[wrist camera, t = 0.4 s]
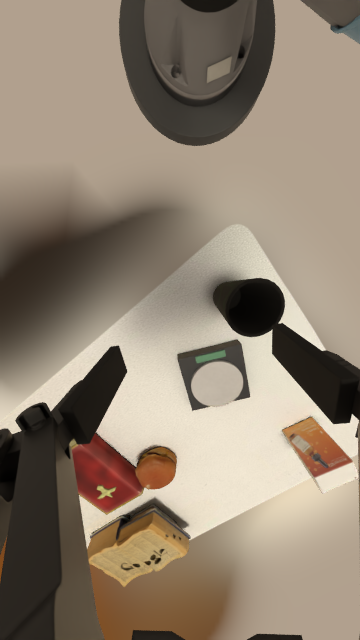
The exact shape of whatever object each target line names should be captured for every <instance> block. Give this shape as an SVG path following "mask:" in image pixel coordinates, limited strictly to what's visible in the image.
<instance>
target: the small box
mask: <svg viewBox="0 0 360 640" xmlns="http://www.w3.org/2000/svg"><path fill="white" fill-rule="evenodd" d="M282 431H283V433H284V435H285V436H286V438H287V440H288V442H289V444H290V445H291V447H292V448H293V450H294V451H295V453H296V454H297V456H298V457H299V459H300V460H301V462H302V463H303V465H304V466H305V468H306V470H307V471H308V473H309V474H310V476H311V477H312V478H313V480H314V482H315V483H316V485H317V486H318V488H319V489H320V491H321V492H322V493H326V492H327V491H329V490H331V489H334V488H336V487H339V486H341V485H344V484H346V483H349V482H351V481H354V480H357V479H359V474H358V472H357V470H356V467H355V465H354V463H353V461H352V460H351V459H350V458H349V456H348V455H347V454H346V453H345V452H344V451H343V450H342V449H341V448H340V447H339V446H338V445H337V443H336V442H335V441H334V440H333V439H332V438H331V437H330V436H329V435H328V434H327V433H326V432H325V431H324V429H323V428H322V427H321V426H320V425H319V424H318V423H317V422H316V421H315V420H314V419H313V418H312V417H310V418H308V419H306V420H304V421H302V422H300V423H298V424H295V425H293V426H291V427H288V428H285V429H283V430H282Z"/></svg>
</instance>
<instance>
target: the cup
mask: <svg viewBox="0 0 360 640" xmlns="http://www.w3.org/2000/svg"><path fill="white" fill-rule="evenodd" d="M213 300H214V303H215V305H216V306H217V308H218V309H219V311H220V312H221V314H222V315H223V317H224V318H225V320H226V321H227V322H228V324H229V325H230V327H231V328H232V329H233V330H234V331H235V332H237V333H238V334H240V335H243V336H247V337H257V336H260V335H264V334H266V333H267V332H269V331H271V330H272V329H273V324H278V323H279V321H280V320H281V317H282V315H283V313H284V308H285V299H284V296H283V293H282V291H281V289H280V288H279V287H278V286H277V285H276V284H275V283H274V282H272V281H270V280H268V279H263V278H255V279H246V280H239V281H231V282H225V283H222V284H220V285H219V286H218V287H217V288H216V289H215V291H214V294H213Z"/></svg>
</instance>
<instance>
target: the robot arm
mask: <svg viewBox="0 0 360 640" xmlns="http://www.w3.org/2000/svg"><path fill="white" fill-rule="evenodd" d="M301 1H302V2H303V3H305V4H306V5H307V6H308V7H310V8H311V9H312V10H313V11H314V12H316V13H317V14H318V15H319V16H320V17H322V18H323V19H324V20H325V21H327V22H328V23H329V24H331V30H332V31H333V32H334V33H344V34H345V35H347V36H349V37H350V38H352V39H353V40H355V41H356V42H358V43H359V44H360V0H301ZM256 6H257V0H145V7H144V25H145V34H146V43H147V50H148V55H149V59H150V63H151V66H152V68H153V71H154V73H155V75H156V77H157V79H158V81H159V82H160V84H161V85H162V87H163V88H164V89H165V90H166V91H167V93H168V94H170V95H171V96H172V97H173V98H174V99H176V100H177V101H179V102H181V103H183V104H186V105H189V106H196V107H200V106H207V105H210V104H213V103H215V102H217V101H219V100H220V99H222V98H223V97H224V96H225V95H226V94H227V93H228V92H229V91H230V90H231V89H232V88H233V87H234V85H235V84H236V82H237V81H238V79H239V77H240V75H241V73H242V71H243V68H244V65H245V62H246V59H247V57H248V54H249V51H250V47H251V44H252V39H253V33H254V25H255V16H256ZM272 354H273V355H274V356H275V358H276V359H277V360H278V361H279V362H280V363H281V365H282V366H283V367H284V368H285V369H286V370H287V371H288V373H289V374H290V375H291V376H292V377H293V378H294V379H295V381H296V382H297V383H298V384H299V385H300V386H301V387H302V389H303V390H304V391H305V392H306V393H307V394H308V396H309V397H310V398H311V399H312V400H313V401H314V402H315V404H316V405H317V406H318V407H319V408H320V409H321V410H322V412H323V413H324V414H325V415H326V416H327V417H328V418H329V420H330V421H331V422H332V423H333V424H340V423H350V420H351V415H352V414H353V415H354V416H355V417H356V418H357V419H358V420H359V424H358V428H357V432H356V436H355V437H357V438H358V456H359V522H360V369H358V368H357V367H355V366H354V365H352V364H351V363H349V362H348V361H345V359H343V358H342V357H340V356H339V355H337V354H334V353H332V352H329V351H321V350H320V349H318V348H317V347H315V346H314V345H313V344H311V343H310V342H308V341H307V340H306V339H304V338H303V337H301V336H300V335H298V334H297V333H296V332H294V331H293V330H291V329H290V328H288V327H287V326H286V325H284V324H283V323H281V324H273V331H272ZM126 373H127V369H126V366H125V363H124V360H123V357H122V354H121V351H120V348H119V346H113V347H110V348H109V349H108V350H107V352H106V353H105V354H104V355H103V356H102V358H101V359H100V360H99V361H98V362H97V363H96V365H95V366H94V367H93V368H92V369H91V371H90V372H89V373H88V374H87V375H86V376H85V378H84V379H83V380H81V381H79V382H78V383H77V384H75V385H74V386H73V387H72V388H71V389H70V391H69V393H67V394H66V395H65V396H64V398H63V399H62V400H61V401H60V402H59V403H58V404H57V405H56V406H55V408H54V409H53V410H52V411H50V410H49V408H48V406H47V404H46V403H43V402H42V403H38V404H35V405H33V406H31V407H29V408H27V409H26V410H24V411H23V412H22V413H21V414H20V415H19V416H18V417H17V419H16V420H15V421H16V423H17V424H18V426H19V427H20V429H21V430H22V431H21V432H18V433H15V434H11V432H10V431H9V430H8V429H1V430H0V554H1V551H2V548H3V545H4V543H5V540H6V537H7V542H6V548H5V555H4V561H3V568H2V575H1V582H0V640H104V636H103V633H102V630H101V627H100V624H99V621H98V617H97V612H96V606H95V599H94V593H93V587H92V580H91V573H90V567H89V560H88V553H87V547H86V540H85V534H84V527H83V521H82V514H81V508H80V501H79V494H78V488H77V481H76V475H75V468H74V462H73V455H72V448H71V447H70V445H69V444H70V442H71V441H72V439H73V438H74V440H75V441H76V443H77V445H80V444H90V442H91V440H92V438H93V436H94V434H95V432H96V431H97V429H98V427H99V425H100V423H101V421H102V419H103V417H104V415H105V413H106V411H107V409H108V407H109V406H110V404H111V402H112V400H113V398H114V396H115V394H116V392H117V390H118V388H119V386H120V384H121V383H122V381H123V379H124V377H125V375H126ZM7 534H8V535H7ZM132 640H185V639H183V638H181V637H179V636H178V635H176V634H175V633H173V632H172V631H141V630H140V631H139V630H133V635H132ZM247 640H303V639H302V636H301V635H277V634H256V635H254V636H253V637H251V638H249V639H247ZM359 640H360V636H359Z"/></svg>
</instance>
